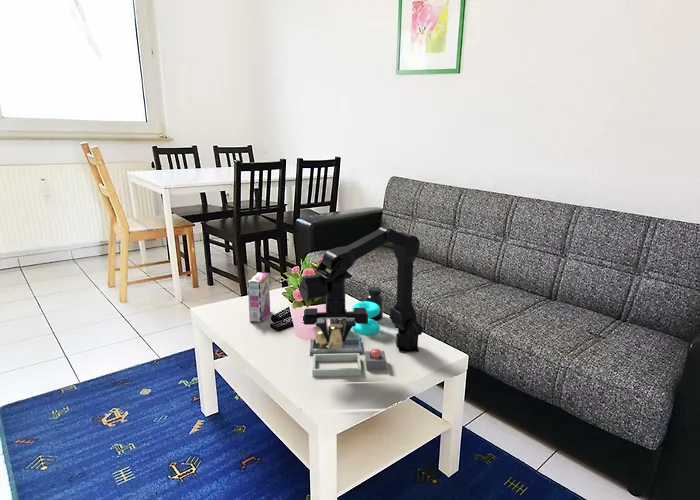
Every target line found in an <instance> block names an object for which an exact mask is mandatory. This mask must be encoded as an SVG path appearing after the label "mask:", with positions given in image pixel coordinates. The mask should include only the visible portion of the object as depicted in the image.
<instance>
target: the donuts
mask: <svg viewBox="0 0 700 500" xmlns="http://www.w3.org/2000/svg"><path fill="white" fill-rule="evenodd" d="M354 308H366V309H367V313H368V318H373V317H375V316H377V315H378V314H379V313H380V307H379V305H377V304H376V303H373V302H369V301H366V300H364V301H359V302H356V303H354V305H353V306H352V309H351V311H354ZM380 326H381V325H380V324H379V322H378V321H375V320H372V319H368V323H366V324H357V323H356V326H353V327H352V328H351V330H352V331H353V332H354V333H356V334H358V335H363V336H364V335H365V336H366V335H367V336H368V335H374V334H376V333H378V332H379V331H380V329H381V327H380Z"/></svg>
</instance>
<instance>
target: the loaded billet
mask: <svg viewBox="0 0 700 500" xmlns="http://www.w3.org/2000/svg"><path fill="white" fill-rule="evenodd" d="M328 336H329V335H328ZM315 339H316V349H329V343H327V341H326V339H325V336H324V334H323V332H322V331H321V329H320V328H318V329H316V330H315Z"/></svg>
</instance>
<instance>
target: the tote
mask: <svg viewBox="0 0 700 500" xmlns="http://www.w3.org/2000/svg"><path fill="white" fill-rule="evenodd" d="M360 356H361V355H359V353H343V354H313V356H312V367H311V368H312V369H311V373H312V374H311V375H312V376H311V377H337V376H338V377H343V376H345V377H346V376H362V364H361V358H360ZM326 361H327V362H329V361H330V362H331V361H334V362H335V361H337V362H339V361H341V362H342V361H357V362H356V363H357V367H349V368H348V367H345V368H344V367H343V368H342V367H341V368H340V367H339V368H316V363H317V362H326Z"/></svg>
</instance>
